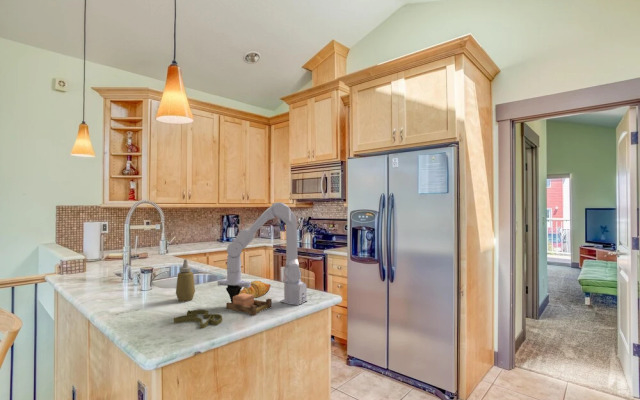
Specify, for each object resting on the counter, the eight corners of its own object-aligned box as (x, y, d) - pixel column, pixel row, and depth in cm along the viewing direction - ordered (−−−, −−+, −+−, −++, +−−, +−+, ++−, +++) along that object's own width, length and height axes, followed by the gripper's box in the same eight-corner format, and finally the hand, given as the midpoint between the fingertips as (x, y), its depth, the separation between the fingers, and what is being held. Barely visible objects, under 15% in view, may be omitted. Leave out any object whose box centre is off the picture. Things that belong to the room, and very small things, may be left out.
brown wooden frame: (271, 307, 139) (271, 299, 139) (253, 315, 129) (253, 306, 129) (242, 302, 146) (242, 294, 146) (223, 309, 136) (223, 300, 136)
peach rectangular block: (254, 305, 140) (254, 294, 140) (244, 309, 135) (244, 298, 135) (242, 303, 143) (242, 293, 143) (232, 307, 137) (232, 296, 137)
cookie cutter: (169, 323, 122) (169, 317, 122) (194, 313, 133) (194, 308, 133) (206, 331, 115) (206, 325, 115) (230, 319, 126) (230, 314, 126)
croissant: (241, 309, 147) (247, 294, 145) (227, 295, 152) (232, 281, 150) (273, 297, 165) (279, 283, 163) (260, 285, 170) (265, 272, 168)
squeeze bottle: (188, 303, 145) (188, 261, 145) (171, 302, 146) (171, 260, 146) (198, 298, 153) (198, 258, 153) (182, 297, 154) (182, 257, 154)
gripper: (254, 270, 143) (254, 302, 143) (224, 268, 147) (223, 299, 147) (246, 273, 136) (246, 307, 136) (214, 271, 140) (214, 304, 140)
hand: (234, 303), depth 141 cm, fingers closed
